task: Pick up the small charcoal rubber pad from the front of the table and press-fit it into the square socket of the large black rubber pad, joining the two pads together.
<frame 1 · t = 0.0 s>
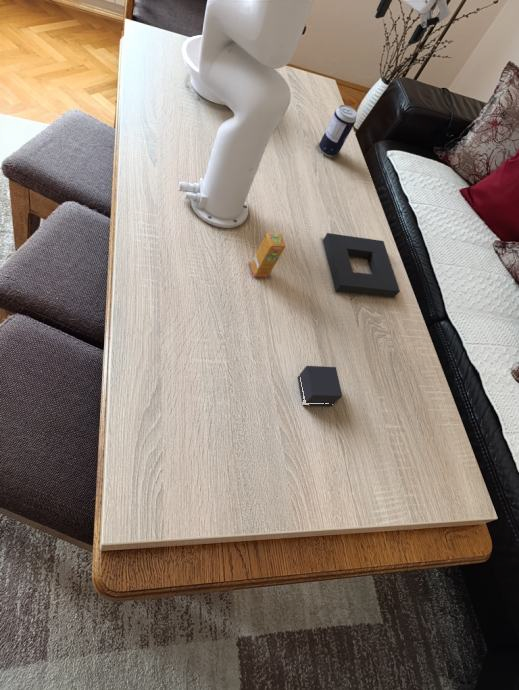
hand: (395, 30, 110), 31 cm above the table, tool pointing down, fingers open, 9 cm apart
supplement box: (259, 272, 103), on the table
beverage can: (327, 151, 133), on the table
bowl: (216, 91, 131), on the table
socket pad: (358, 268, 113), on the table
key pad: (314, 392, 91), on the table
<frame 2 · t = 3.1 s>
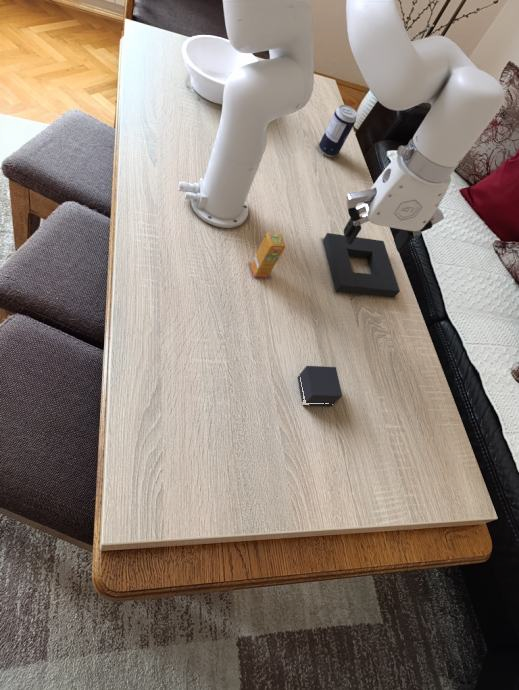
hand: (372, 242, 86), 21 cm above the table, tool pointing down, fingers open, 9 cm apart
nothing on the table moved.
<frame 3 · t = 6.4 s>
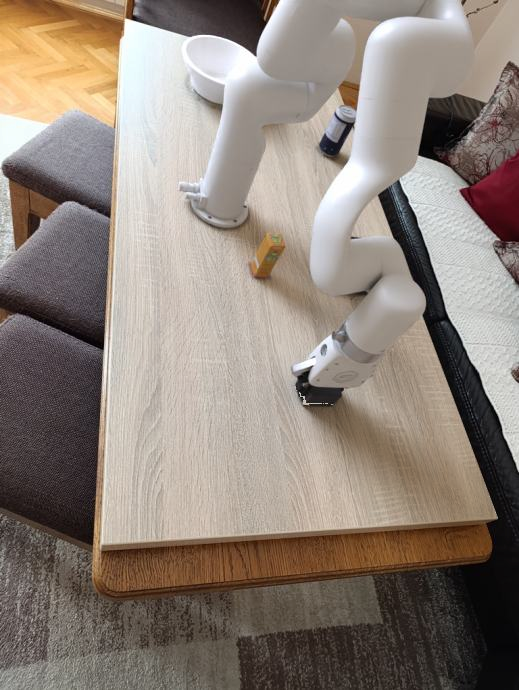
hand: (315, 390, 91), 1 cm above the table, tool pointing down, fingers closed on key pad, 5 cm apart
key pad: (314, 392, 91), on the table, touching gripper
everything else where it was.
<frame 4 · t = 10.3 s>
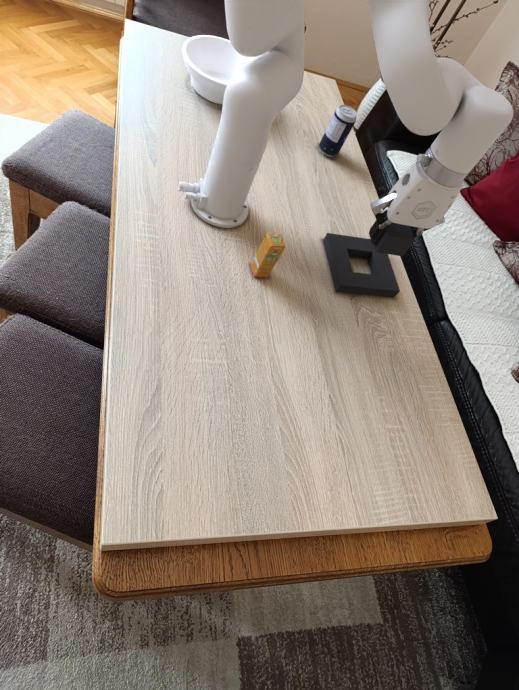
hand: (387, 240, 96), 15 cm above the table, tool pointing down, fingers closed on key pad, 5 cm apart
key pad: (385, 242, 96), point 15 cm above the table, touching gripper
everything else where it was.
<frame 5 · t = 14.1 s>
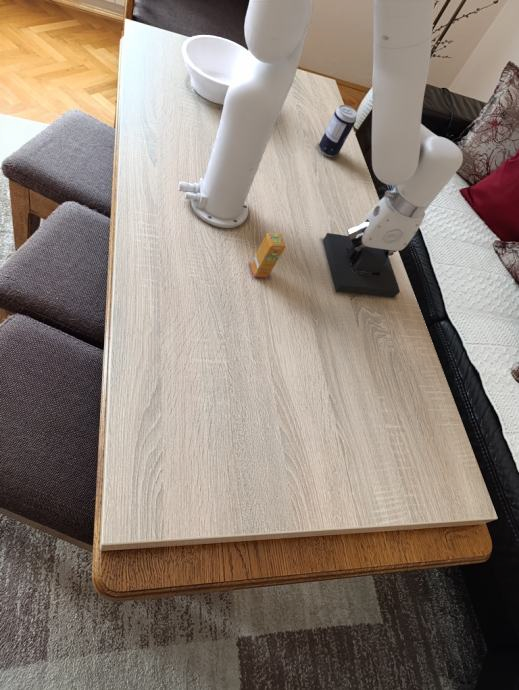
hand: (363, 260, 110), 3 cm above the table, tool pointing down, fingers closed on key pad, 5 cm apart
key pad: (362, 262, 111), point 2 cm above the table, touching gripper
everything else where it was.
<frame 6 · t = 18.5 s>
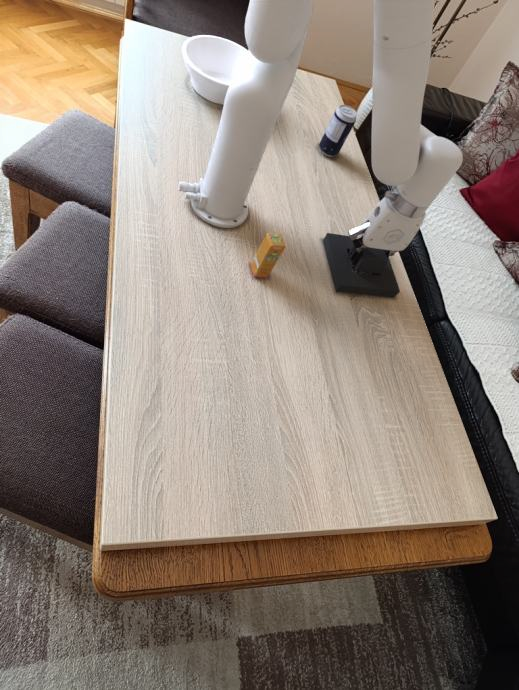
hand: (364, 261, 110), 3 cm above the table, tool pointing down, fingers closed on key pad, 5 cm apart
key pad: (363, 262, 111), point 2 cm above the table, touching gripper
everything else where it was.
when the fingers open (4 cm above the table, at t = 22.7 s): key pad drops 1 cm, resting in socket pad.
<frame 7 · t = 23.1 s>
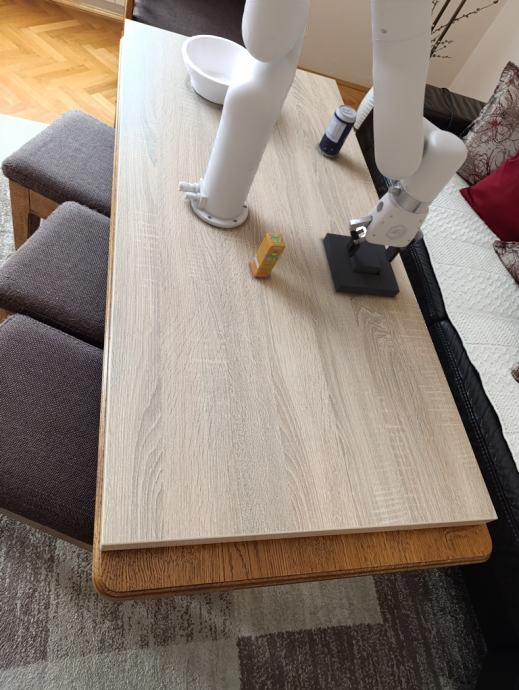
hand: (368, 254, 109), 5 cm above the table, tool pointing down, fingers open, 9 cm apart
key pad: (356, 268, 112), resting in socket pad
everything else where it was.
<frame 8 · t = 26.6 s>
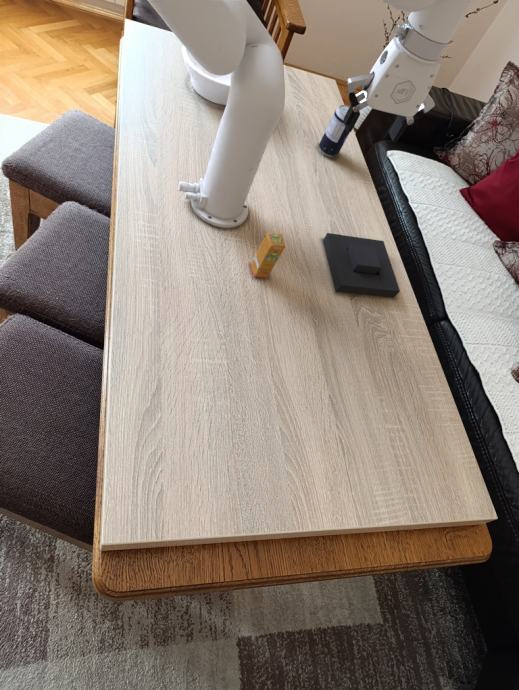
hand: (369, 132, 93), 26 cm above the table, tool pointing down, fingers open, 9 cm apart
nothing on the table moved.
at the end: key pad 0.3 cm off-centre in the socket pad, point 0.0 cm above the socket pad's base; the gripper is holding nothing; key pad tilted 0° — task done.
